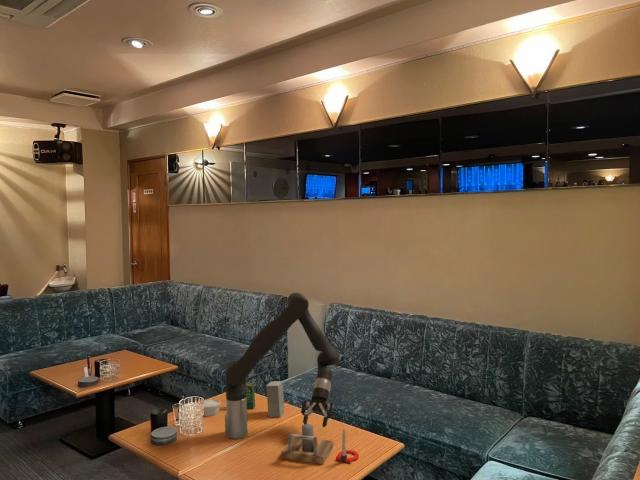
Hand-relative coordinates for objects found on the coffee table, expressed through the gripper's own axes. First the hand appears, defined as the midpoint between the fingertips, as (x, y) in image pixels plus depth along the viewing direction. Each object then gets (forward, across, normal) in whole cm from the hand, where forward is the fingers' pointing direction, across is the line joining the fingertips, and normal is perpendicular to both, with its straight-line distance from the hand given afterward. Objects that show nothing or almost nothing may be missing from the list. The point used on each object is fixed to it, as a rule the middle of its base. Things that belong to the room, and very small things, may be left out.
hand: (314, 425), depth 199 cm
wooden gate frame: (+12, 0, 0) cm, 12 cm away
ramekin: (-7, -64, +18) cm, 66 cm away
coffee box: (-15, -48, +26) cm, 56 cm away
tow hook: (+11, +17, +1) cm, 20 cm away
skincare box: (-12, -30, +24) cm, 40 cm away
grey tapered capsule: (+11, 0, 0) cm, 11 cm away
